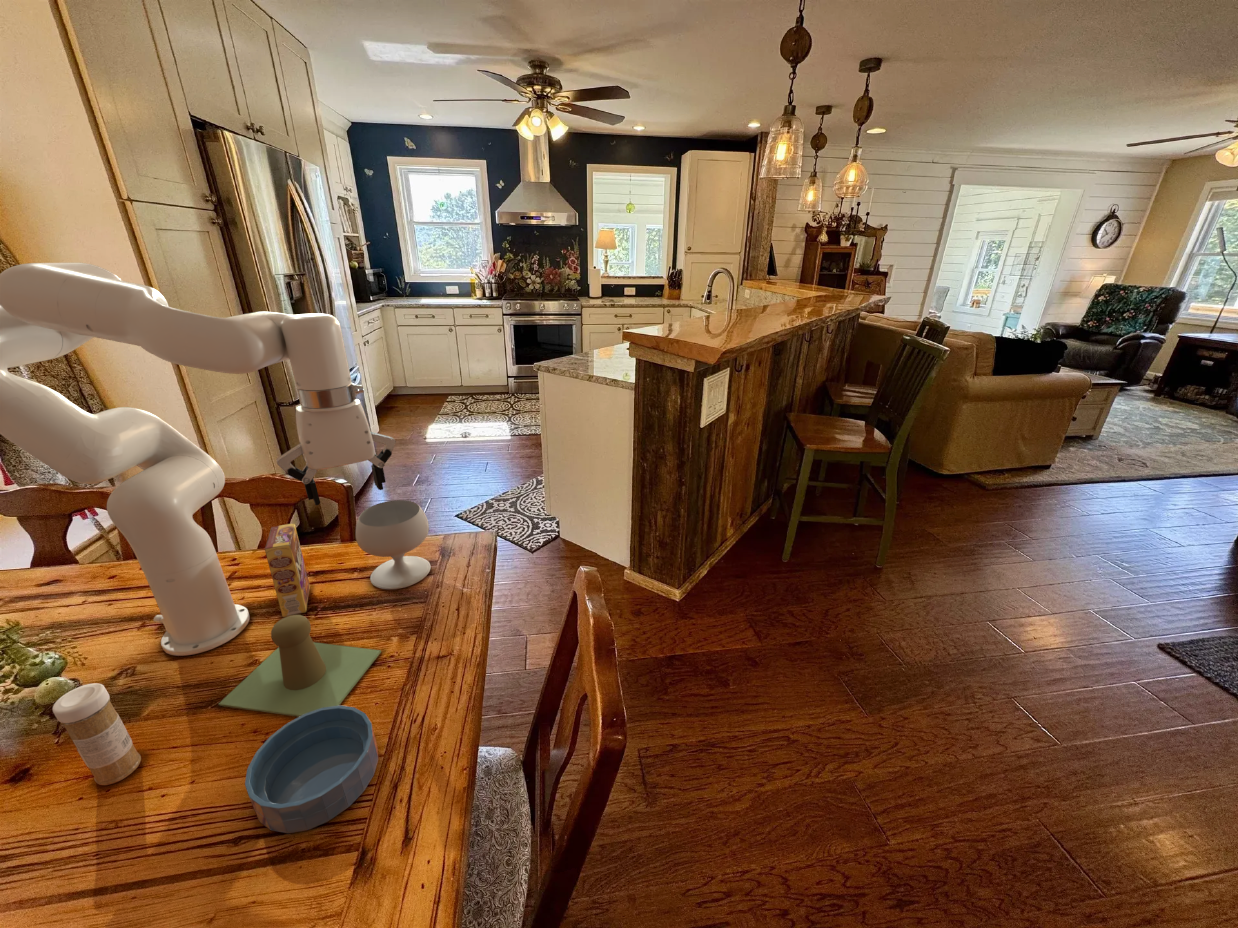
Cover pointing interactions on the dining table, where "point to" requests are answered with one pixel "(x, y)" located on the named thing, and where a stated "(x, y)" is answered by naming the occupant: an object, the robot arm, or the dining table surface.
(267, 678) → the mat
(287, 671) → the cork
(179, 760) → the dining table surface
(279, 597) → the candy box
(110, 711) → the sprinkles bottle
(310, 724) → the bowl
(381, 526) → the chalice
